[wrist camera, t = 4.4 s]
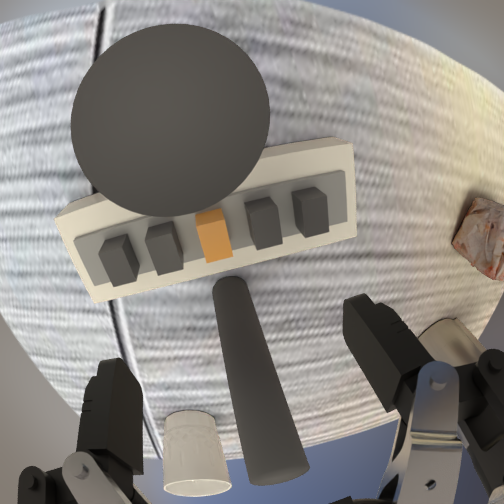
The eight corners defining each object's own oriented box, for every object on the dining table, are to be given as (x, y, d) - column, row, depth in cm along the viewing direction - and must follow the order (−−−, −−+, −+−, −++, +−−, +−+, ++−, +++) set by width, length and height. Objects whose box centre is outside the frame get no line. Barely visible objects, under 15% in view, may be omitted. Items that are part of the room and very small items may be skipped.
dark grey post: (202, 80, 17) (251, 7, 3) (211, 123, 18) (283, 191, 5) (157, 92, 17) (54, 63, 3) (167, 134, 18) (104, 237, 4)
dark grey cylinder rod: (244, 272, 25) (309, 458, 11) (250, 300, 26) (310, 474, 12) (208, 281, 24) (244, 475, 11) (217, 308, 26) (255, 488, 12)
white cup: (207, 401, 32) (218, 475, 24) (226, 427, 36) (239, 490, 28) (149, 413, 32) (151, 484, 23) (175, 438, 36) (181, 498, 27)
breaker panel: (332, 136, 20) (371, 149, 16) (339, 220, 24) (372, 251, 19) (68, 203, 19) (40, 234, 14) (102, 281, 22) (87, 324, 18)
